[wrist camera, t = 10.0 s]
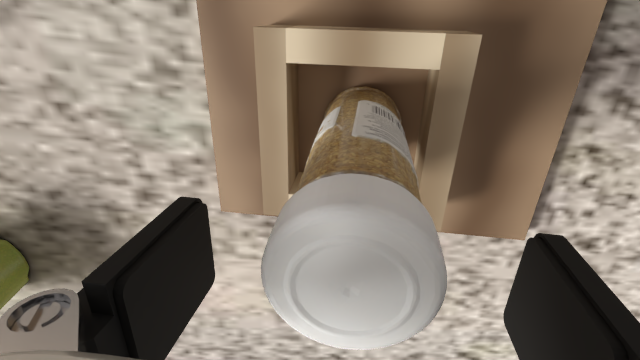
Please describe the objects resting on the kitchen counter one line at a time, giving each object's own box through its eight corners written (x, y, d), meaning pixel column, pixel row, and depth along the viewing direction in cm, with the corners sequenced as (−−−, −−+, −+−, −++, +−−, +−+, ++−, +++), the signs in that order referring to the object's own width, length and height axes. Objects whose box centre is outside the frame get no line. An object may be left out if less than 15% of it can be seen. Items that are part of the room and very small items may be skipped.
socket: (465, 30, 17) (482, 34, 15) (432, 204, 22) (440, 231, 19) (270, 24, 18) (253, 26, 16) (276, 190, 23) (263, 214, 20)
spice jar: (309, 106, 20) (219, 249, 8) (383, 69, 19) (405, 177, 7) (344, 172, 22) (311, 373, 10) (415, 142, 20) (478, 335, 8)
